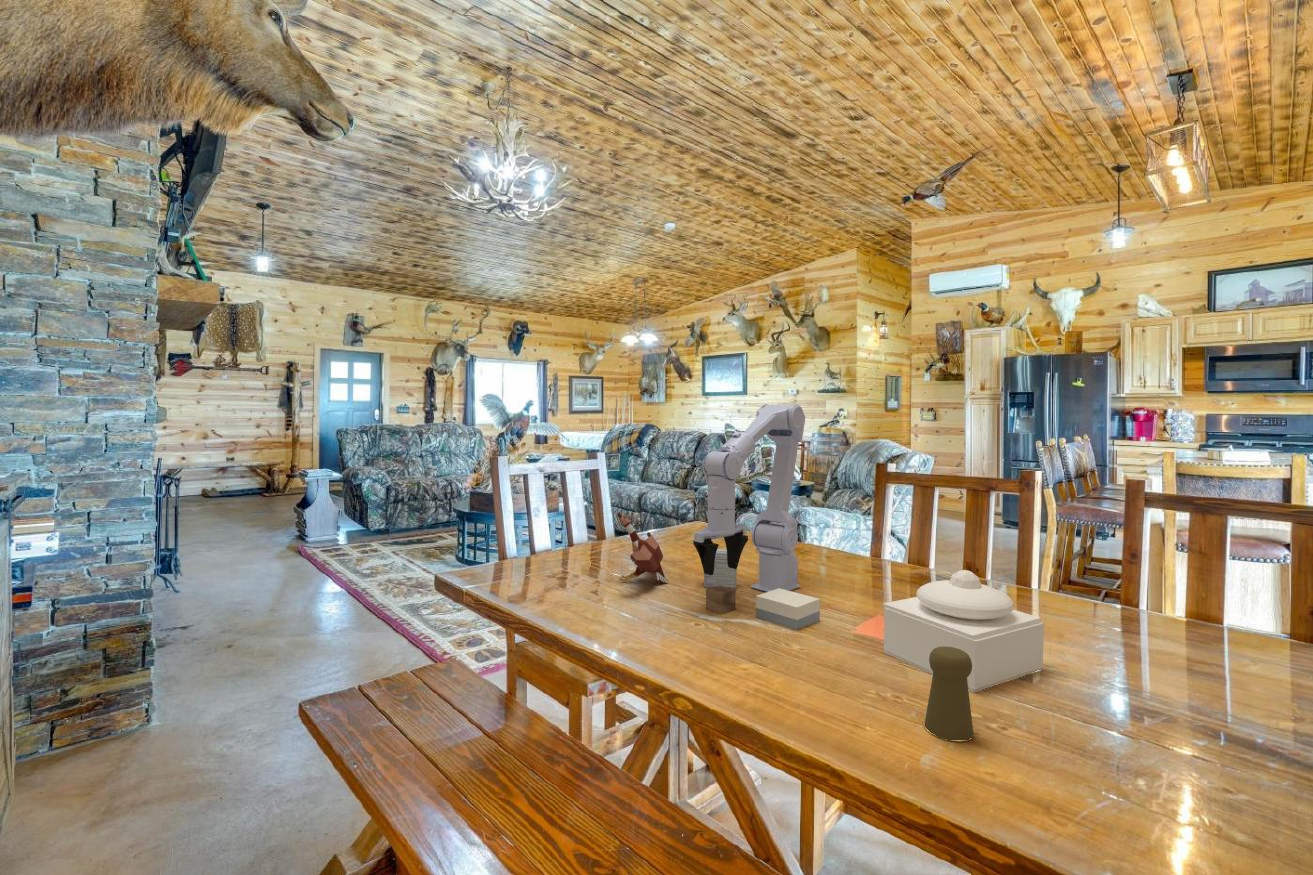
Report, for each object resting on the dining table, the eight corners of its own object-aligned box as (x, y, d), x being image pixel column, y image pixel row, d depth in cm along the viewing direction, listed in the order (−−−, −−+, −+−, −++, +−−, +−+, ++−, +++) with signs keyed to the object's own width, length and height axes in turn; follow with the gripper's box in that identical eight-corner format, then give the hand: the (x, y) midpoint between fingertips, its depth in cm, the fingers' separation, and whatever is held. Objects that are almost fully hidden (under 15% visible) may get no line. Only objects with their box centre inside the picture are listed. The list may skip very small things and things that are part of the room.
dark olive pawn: (915, 719, 86) (917, 642, 85) (957, 718, 86) (959, 640, 86) (939, 743, 80) (941, 659, 79) (983, 741, 80) (986, 658, 80)
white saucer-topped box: (974, 694, 94) (977, 591, 93) (881, 652, 110) (883, 564, 109) (1043, 671, 102) (1046, 576, 102) (947, 636, 118) (949, 553, 117)
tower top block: (778, 599, 133) (779, 588, 133) (819, 610, 126) (819, 598, 126) (755, 607, 128) (755, 595, 128) (796, 620, 120) (797, 607, 120)
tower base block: (779, 610, 134) (779, 599, 133) (819, 622, 126) (819, 610, 126) (755, 619, 128) (756, 607, 128) (796, 632, 121) (796, 619, 121)
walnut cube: (719, 605, 136) (720, 584, 136) (735, 610, 133) (735, 589, 132) (705, 609, 133) (705, 588, 133) (721, 614, 130) (721, 593, 129)
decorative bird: (607, 552, 169) (628, 503, 168) (668, 581, 167) (690, 531, 166) (580, 581, 141) (605, 522, 140) (653, 616, 139) (679, 556, 138)
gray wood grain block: (736, 583, 152) (736, 548, 152) (736, 589, 148) (737, 553, 147) (704, 582, 153) (704, 548, 153) (703, 588, 149) (703, 552, 148)
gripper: (729, 502, 140) (729, 562, 140) (683, 509, 130) (683, 573, 130) (754, 506, 134) (753, 568, 135) (708, 513, 125) (707, 580, 125)
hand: (720, 571), depth 132 cm, fingers open, 7 cm apart
